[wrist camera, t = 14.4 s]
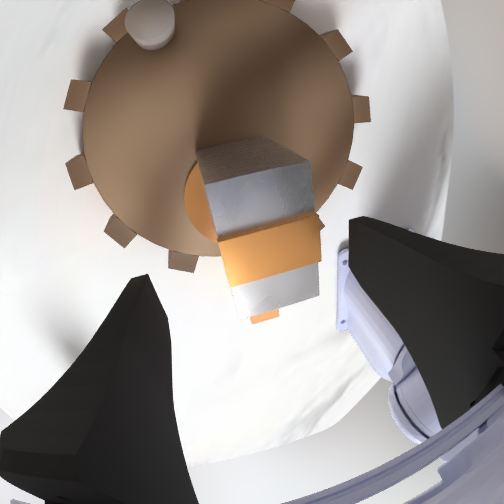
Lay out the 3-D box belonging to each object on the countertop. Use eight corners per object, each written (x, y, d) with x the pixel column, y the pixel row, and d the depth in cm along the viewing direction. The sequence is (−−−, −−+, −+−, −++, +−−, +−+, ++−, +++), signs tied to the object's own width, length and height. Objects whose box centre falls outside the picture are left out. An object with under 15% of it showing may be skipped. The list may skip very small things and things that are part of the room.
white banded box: (278, 233, 18) (322, 298, 13) (219, 250, 17) (240, 323, 12) (263, 135, 15) (314, 162, 9) (193, 151, 14) (203, 187, 9)
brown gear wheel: (392, 104, 17) (443, 115, 13) (254, 290, 22) (273, 337, 18) (186, -51, 9) (191, -92, 5) (36, 186, 14) (-1, 219, 10)
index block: (267, 291, 23) (279, 316, 21) (243, 298, 23) (252, 324, 21) (262, 260, 22) (274, 284, 19) (235, 267, 21) (244, 292, 19)
